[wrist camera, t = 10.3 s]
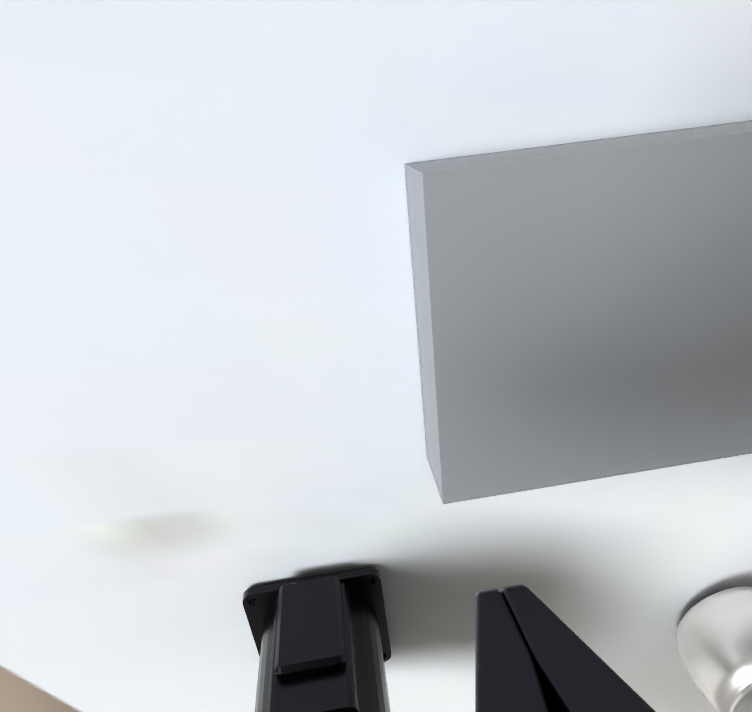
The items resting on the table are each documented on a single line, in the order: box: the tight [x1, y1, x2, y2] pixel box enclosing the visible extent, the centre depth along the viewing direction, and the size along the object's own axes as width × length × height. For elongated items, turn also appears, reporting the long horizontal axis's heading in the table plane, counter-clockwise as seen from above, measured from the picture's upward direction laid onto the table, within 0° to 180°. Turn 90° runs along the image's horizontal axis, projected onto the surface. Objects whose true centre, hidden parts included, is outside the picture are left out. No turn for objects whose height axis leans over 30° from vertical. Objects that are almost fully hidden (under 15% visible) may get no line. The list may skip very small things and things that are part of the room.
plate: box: [405, 121, 752, 504], centre depth 19 cm, size 12×14×3 cm
